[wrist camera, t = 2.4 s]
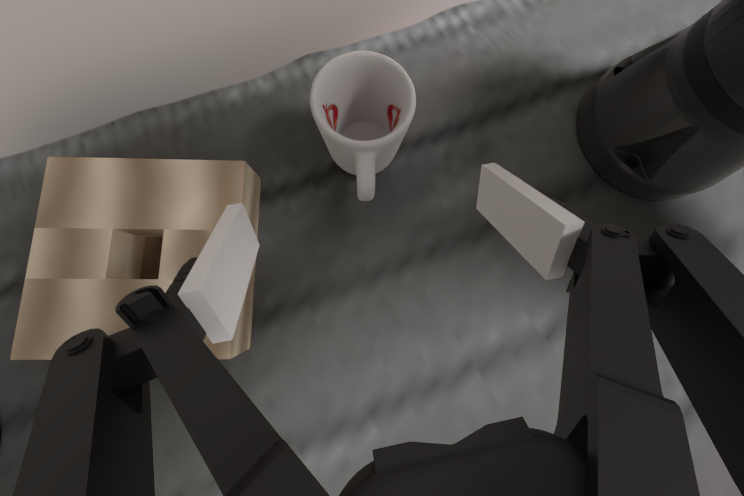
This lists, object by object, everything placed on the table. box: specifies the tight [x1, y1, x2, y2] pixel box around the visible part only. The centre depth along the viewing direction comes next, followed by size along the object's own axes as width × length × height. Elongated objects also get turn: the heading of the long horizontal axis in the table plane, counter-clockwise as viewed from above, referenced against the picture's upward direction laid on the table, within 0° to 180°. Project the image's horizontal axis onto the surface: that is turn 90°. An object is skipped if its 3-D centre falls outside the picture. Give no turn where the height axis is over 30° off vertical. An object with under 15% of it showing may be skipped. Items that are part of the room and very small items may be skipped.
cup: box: [310, 51, 416, 201], centre depth 25 cm, size 11×8×8 cm
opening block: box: [10, 157, 261, 360], centre depth 25 cm, size 16×16×4 cm
